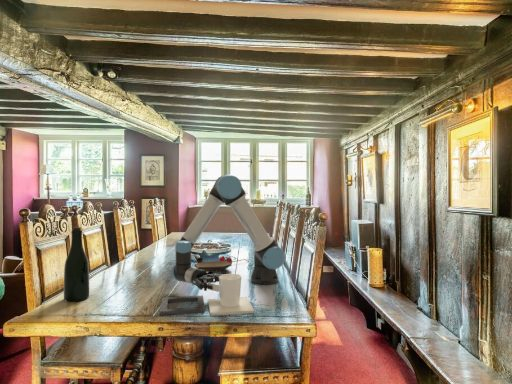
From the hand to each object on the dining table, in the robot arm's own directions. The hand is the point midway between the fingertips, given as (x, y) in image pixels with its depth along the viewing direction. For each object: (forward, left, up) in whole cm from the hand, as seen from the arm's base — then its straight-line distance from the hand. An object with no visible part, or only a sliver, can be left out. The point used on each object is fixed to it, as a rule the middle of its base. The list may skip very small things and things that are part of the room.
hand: (230, 285), depth 149 cm
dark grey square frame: (+20, -4, -10) cm, 23 cm away
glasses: (-14, -90, -10) cm, 92 cm away
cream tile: (0, 0, -10) cm, 10 cm away
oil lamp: (+3, -68, -10) cm, 69 cm away
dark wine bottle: (+68, -23, -10) cm, 73 cm away
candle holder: (0, -1, -9) cm, 9 cm away
